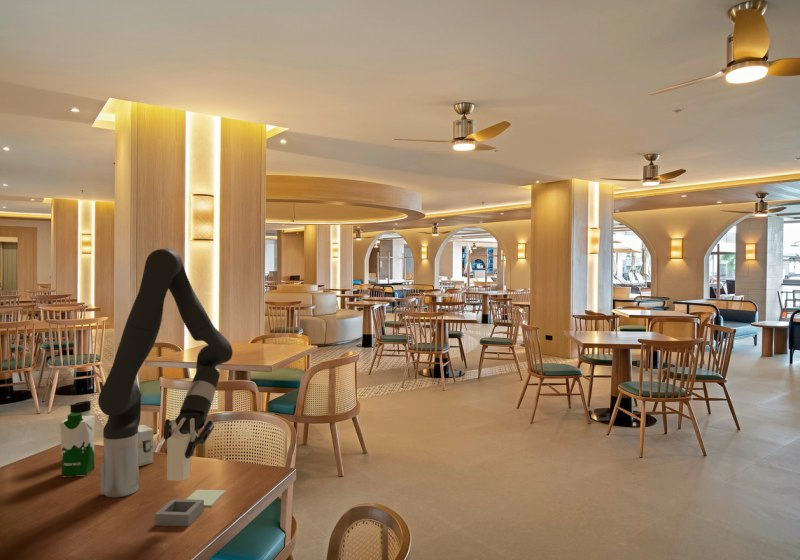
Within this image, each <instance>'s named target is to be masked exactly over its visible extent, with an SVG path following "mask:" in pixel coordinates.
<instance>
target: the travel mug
mask: <svg viewBox="0 0 800 560" xmlns="http://www.w3.org/2000/svg"><path fill="white" fill-rule="evenodd" d="M91 406H92V405H91V400H85V401H79V402H75V403H71V404H70V405H69V407H70V413H69V414H72V413H82V416H92V408H91Z"/></svg>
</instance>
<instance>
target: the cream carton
mask: <svg viewBox="0 0 800 560" xmlns="http://www.w3.org/2000/svg"><path fill="white" fill-rule="evenodd" d="M190 438H191V434H174V435H173V436H171V437H169V438H168V439H167V441H166V448H167V455H166V481H175V482H176V481H177V482H178V481H179V482H184V481H185V480H187V478H189V477H190V476H191V475H192V456H190V458H186V457H185V452H186V449H187V447H188V444H189V442H191V441H190Z"/></svg>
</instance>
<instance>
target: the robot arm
mask: <svg viewBox="0 0 800 560" xmlns="http://www.w3.org/2000/svg"><path fill="white" fill-rule="evenodd" d="M168 290H169V292H170V294H171V295H172V297H173V299H174V301H175V305H176V307H177V310H178V312H179V316H180V317H181V320H182V322H183V323H184V325H185V327H186V329H187V331H188V332H189V334H190V336H191V338H192V339H193V341H196V342H204V343H206V345H205V346H203V347H202V348H201V349H200V350H199V353H198V354H197V356H196V357H197V358H196V364H195V365H196V367H195V368H196V369H195V375H194V377H193V379H192V382H191V384H190V386H189V388H188V390H187V392H186V394H185V397H184V400H183V402H182V404H181V407H180V411H179V414H178V416H176V418H175V419H172V420H170V419H166V420H165V421H164V429H163V439H164V441H166V442H167V439H168V438H169V437H171V436H173V435H174V434H191V438H190V441H191V442H189V444H188V447H187V449H186V452H185V457H186V458H190V456H191V457H192V456H193V455H194V452H195V449H196V446H198V445H200V444H201V445H203V444H204V443H205V442H206V441H207V439H208V438H209V436H210V435H211V433H212V431H213V430H214V428H215V425H214V422H213V421H212V420H207V417H208V414H209V412H210V409H211V407H212V403H213V402H214V397H215V394H216V389H217V387H218V384H219V381H220V378H221V377H220V376H221V375H220V372H219V370H218V369H217V368H216V367H217V366H219V365H222V364H225V363H228V362H229V361H231V359H232V358H233V352H234V351H233V347H232V345H231V343H230V342H229V340H228V339H226V337H225V336H224V335H223V334H222V333H221V332H220V331H219V329H217V328H216V327H215V326H214V324H213V323H212V320H211V318H210V317H209V315H208V313H207V312H206V310H205V308H204V307H203V304H202V303H201V301H200V299H199V298H198V296H197V294H196V292H195V290H194V289H193V287H192V285H191V283H190V279H189V277H188V275H187V271H186V270H185V267H184V263H183V260H182V257H181V256H180V254H179V253H178V252H176V251H175V250H174V249H170V248H159V249H155V250H153V251H152V252H150V254H149V255H148V256H147V258H146V259H145V263H144V268H143V273H142V278H141V283H140V286H139V290H138V293H137V296H136V298H135V300H134V301H133V305H132V307H131V309H130V312H129V315H128V317H127V320H126V322H125V326H124V329H123V331H122V334H121V338H120V341H119V343H118V347H117V350H116V353H115V356H114V359H113V363H112V365H111V368H110V371H109V373H108V375H107V378H106V379H105V382H104V384H103V385H102V388H101V390H100V392H99V395H98V398H97V399H98V400H97V401H98V406H99V409H100V411H101V412H102V413H103V414H105V416H108V418H107V421H106V423H105V425H104V427H103V430H102V433H103V436H102V439H103V441H102V442H103V461H101V462H100V495H101V496H105V497H106V498H121V497H126V496H129V495H132V494H134V493H136V492H137V491H138V490H139V478H140V477H139V466H138V426H139V425H140V421H141V411H142V396H141V394H142V393H141V389H140V387H139V385H138V384H137V383H136V378H137V375H138V372H139V371H140V369H141V367H142V366H143V365H144V364H143V363H144V362H145V361H146V359H147V358H148V356H149V355H150V353H151V351H152V349H153V347H154V346H155V343H156V340H157V338H158V335H159V331H160V328H161V325H162V320H163V315H164V314H163V313H164V303H165V300H166V299H165V298H166V296H167V292H168ZM175 425H176V427H175ZM201 429H202V431H201V432H200V430H201ZM199 432H200V433H199ZM164 454H165V456H167V447H166V449H165V451H164Z"/></svg>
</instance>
